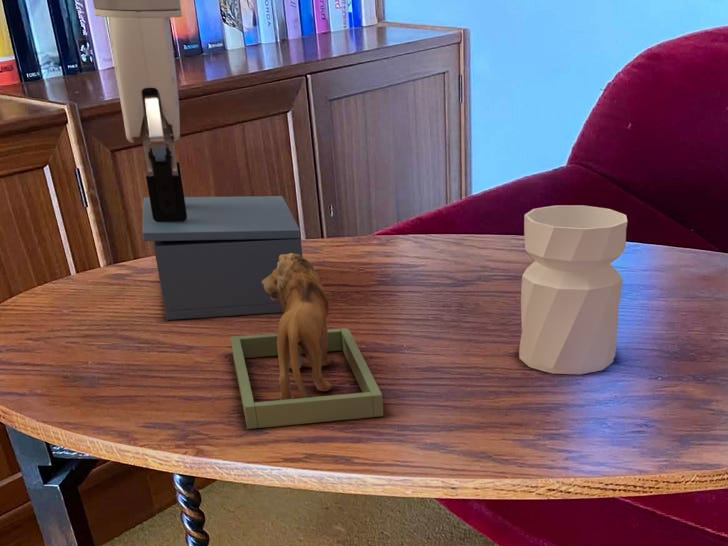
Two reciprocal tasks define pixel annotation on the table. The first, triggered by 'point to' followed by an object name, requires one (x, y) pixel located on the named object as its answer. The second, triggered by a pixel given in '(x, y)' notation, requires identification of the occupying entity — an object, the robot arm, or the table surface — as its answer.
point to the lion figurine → (299, 321)
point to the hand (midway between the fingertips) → (169, 211)
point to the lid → (224, 220)
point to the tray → (312, 407)
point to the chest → (219, 276)
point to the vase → (571, 288)
